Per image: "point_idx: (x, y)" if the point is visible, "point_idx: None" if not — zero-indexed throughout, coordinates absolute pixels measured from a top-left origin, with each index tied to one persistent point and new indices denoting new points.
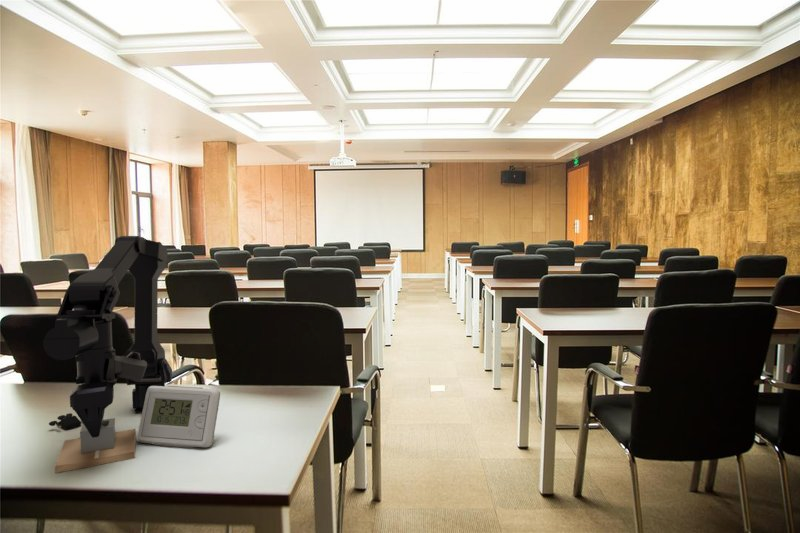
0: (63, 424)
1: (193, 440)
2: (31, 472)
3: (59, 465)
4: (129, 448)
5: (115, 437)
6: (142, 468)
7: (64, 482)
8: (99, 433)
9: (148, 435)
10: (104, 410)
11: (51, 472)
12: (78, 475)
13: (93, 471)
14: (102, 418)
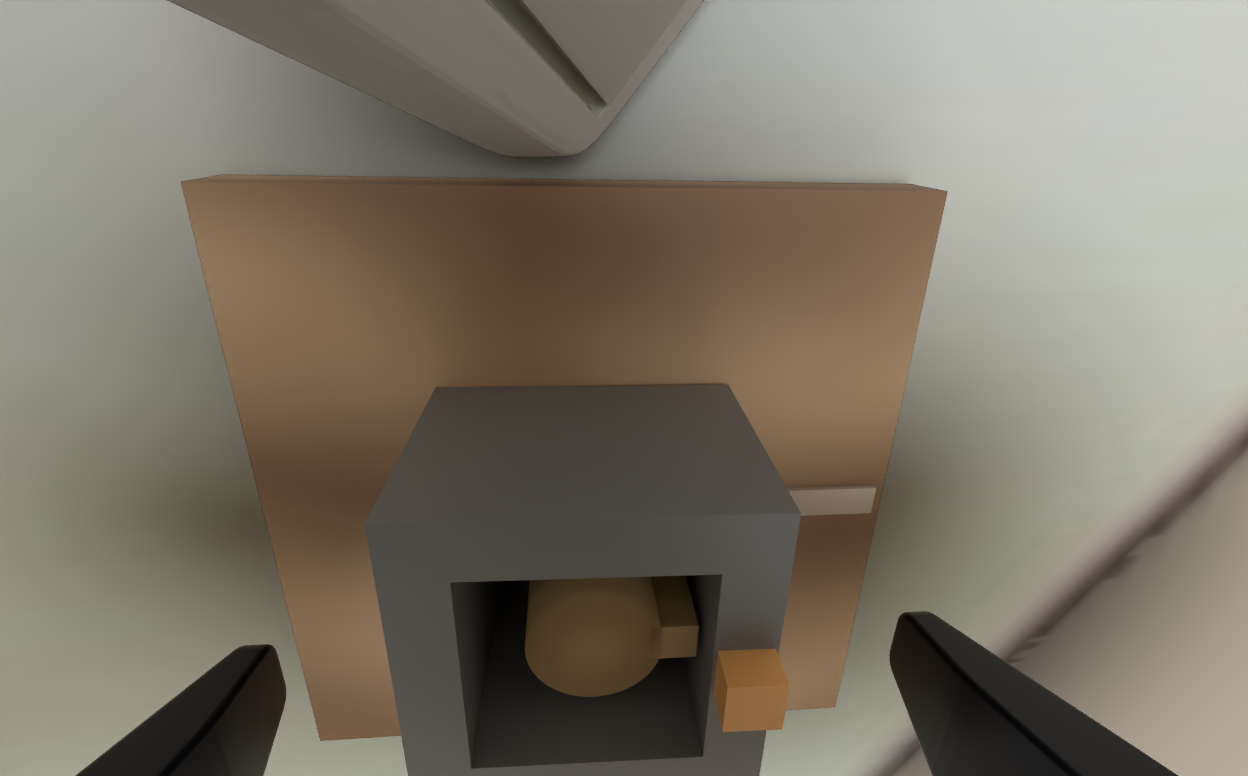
0: None
1: None
2: None
3: (834, 688)
4: (829, 242)
5: (446, 390)
6: (1193, 116)
7: (994, 602)
8: (956, 631)
9: (679, 9)
10: (189, 739)
11: None
12: (948, 548)
13: (951, 473)
14: (269, 653)
